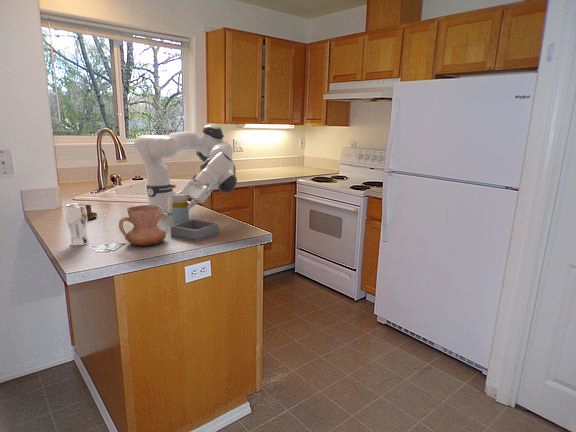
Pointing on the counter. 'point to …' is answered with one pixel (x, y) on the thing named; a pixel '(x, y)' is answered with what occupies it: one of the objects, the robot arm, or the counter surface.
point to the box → (194, 230)
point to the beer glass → (77, 223)
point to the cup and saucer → (89, 213)
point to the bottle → (180, 208)
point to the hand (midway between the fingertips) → (184, 206)
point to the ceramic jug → (144, 225)
